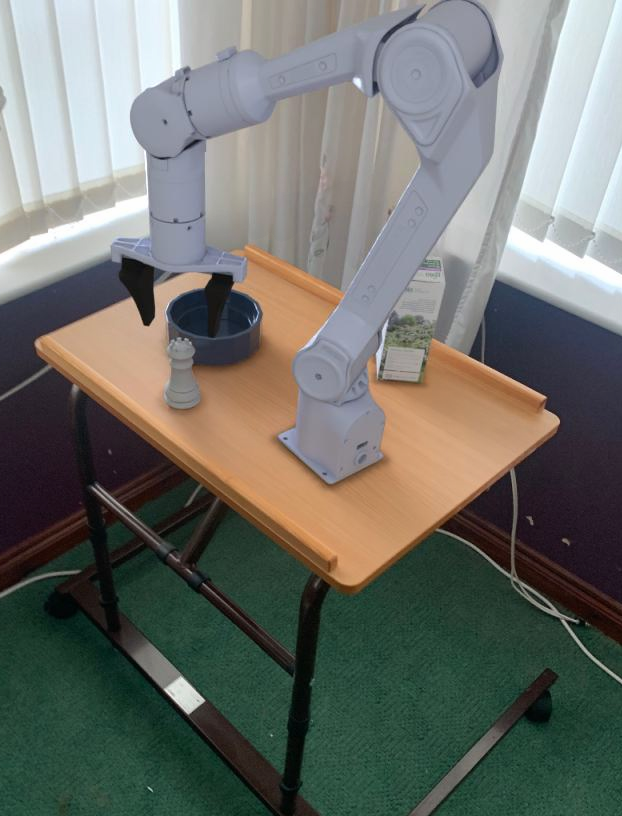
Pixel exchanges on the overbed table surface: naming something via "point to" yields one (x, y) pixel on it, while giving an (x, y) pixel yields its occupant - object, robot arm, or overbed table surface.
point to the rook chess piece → (181, 376)
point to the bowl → (235, 330)
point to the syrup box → (412, 326)
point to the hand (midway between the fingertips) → (181, 327)
